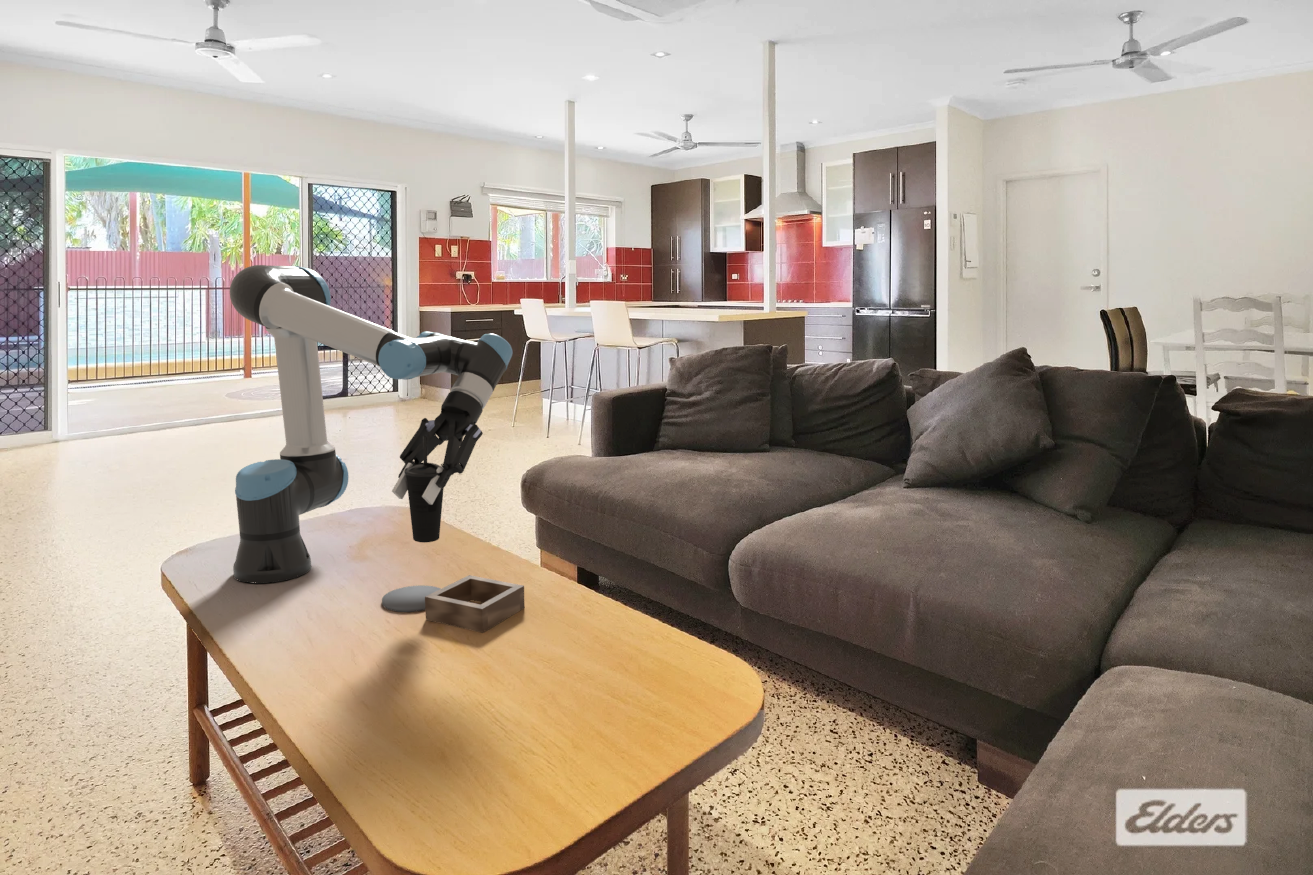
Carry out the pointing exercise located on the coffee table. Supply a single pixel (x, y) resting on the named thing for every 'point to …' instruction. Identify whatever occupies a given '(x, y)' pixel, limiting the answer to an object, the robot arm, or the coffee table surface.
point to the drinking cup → (423, 500)
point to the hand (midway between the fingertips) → (412, 497)
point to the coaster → (407, 598)
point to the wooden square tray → (459, 612)
